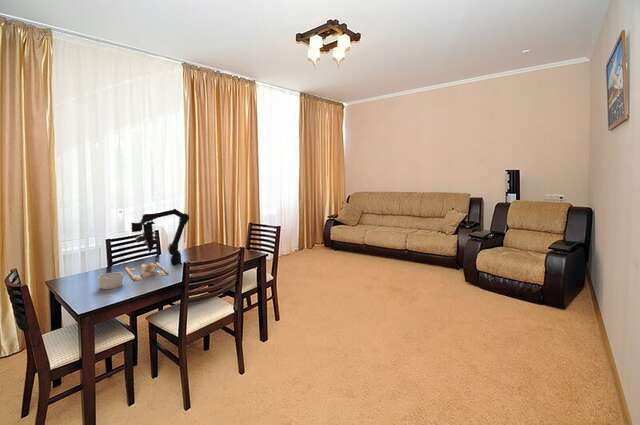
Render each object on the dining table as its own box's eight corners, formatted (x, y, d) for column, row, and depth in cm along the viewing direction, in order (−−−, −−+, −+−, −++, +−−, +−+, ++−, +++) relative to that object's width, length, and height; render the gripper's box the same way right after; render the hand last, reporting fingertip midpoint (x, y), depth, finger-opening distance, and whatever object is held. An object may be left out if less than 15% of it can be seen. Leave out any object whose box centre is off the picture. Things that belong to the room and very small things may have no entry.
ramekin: (119, 281, 213) (118, 270, 212) (127, 285, 205) (126, 274, 204) (95, 287, 203) (94, 275, 202) (103, 291, 194) (102, 280, 194)
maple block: (153, 272, 231) (152, 262, 230) (155, 274, 225) (154, 264, 224) (142, 274, 227) (141, 264, 226) (144, 277, 221) (143, 266, 220)
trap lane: (157, 264, 251) (157, 262, 251) (168, 274, 226) (168, 272, 226) (125, 269, 238) (125, 267, 238) (133, 281, 213) (133, 278, 213)
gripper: (132, 230, 241) (134, 251, 243) (138, 234, 227) (141, 256, 229) (149, 228, 248) (151, 248, 250) (156, 231, 234) (158, 253, 236)
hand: (150, 251), depth 241 cm, fingers closed
